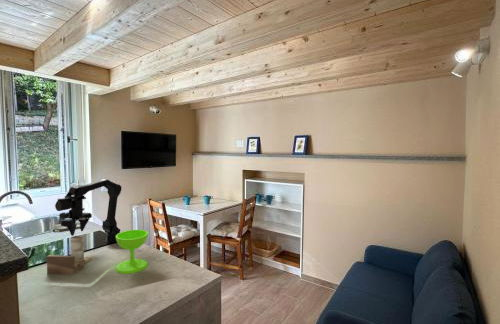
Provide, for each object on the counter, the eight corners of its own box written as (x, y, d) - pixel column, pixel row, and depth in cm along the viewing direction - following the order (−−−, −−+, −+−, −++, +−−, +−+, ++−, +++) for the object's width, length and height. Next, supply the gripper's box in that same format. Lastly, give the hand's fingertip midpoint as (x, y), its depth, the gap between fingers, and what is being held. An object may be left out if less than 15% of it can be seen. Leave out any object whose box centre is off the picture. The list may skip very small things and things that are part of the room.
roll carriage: (75, 258, 146) (74, 234, 145) (90, 259, 146) (90, 234, 145) (63, 266, 137) (62, 239, 136) (79, 266, 137) (79, 240, 136)
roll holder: (72, 259, 147) (72, 242, 147) (96, 260, 147) (96, 243, 146) (45, 276, 128) (45, 256, 128) (73, 277, 128) (72, 257, 128)
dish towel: (78, 223, 215) (78, 219, 215) (83, 228, 203) (83, 224, 202) (50, 227, 202) (50, 223, 202) (53, 233, 190) (53, 229, 189)
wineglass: (150, 269, 139) (150, 236, 138) (117, 276, 130) (117, 241, 129) (144, 258, 152) (145, 228, 151) (114, 263, 144) (114, 232, 143)
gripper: (74, 203, 162) (75, 227, 163) (51, 210, 144) (51, 238, 145) (92, 204, 162) (92, 228, 163) (70, 211, 143) (71, 239, 144)
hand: (77, 233), depth 154 cm, fingers open, 8 cm apart
